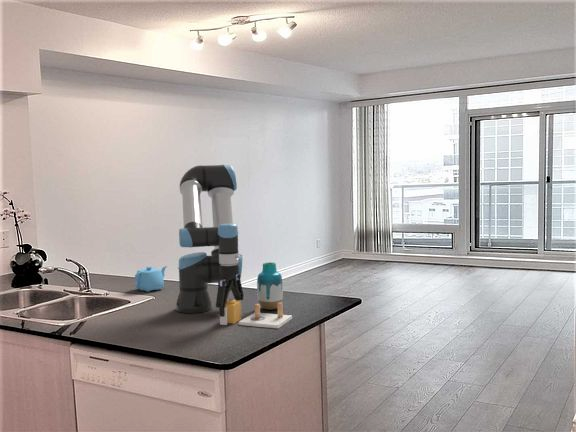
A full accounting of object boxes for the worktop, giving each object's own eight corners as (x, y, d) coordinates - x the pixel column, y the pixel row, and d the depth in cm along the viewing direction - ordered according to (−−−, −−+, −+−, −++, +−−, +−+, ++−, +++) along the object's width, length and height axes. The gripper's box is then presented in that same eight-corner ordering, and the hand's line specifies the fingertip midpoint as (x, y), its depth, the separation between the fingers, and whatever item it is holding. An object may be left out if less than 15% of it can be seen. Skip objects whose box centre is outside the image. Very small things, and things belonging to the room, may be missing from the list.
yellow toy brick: (220, 322, 214) (219, 301, 214) (227, 318, 220) (226, 298, 219) (234, 323, 212) (233, 302, 211) (241, 319, 218) (240, 299, 217)
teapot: (174, 288, 279) (174, 265, 278) (142, 294, 266) (141, 270, 265) (161, 284, 287) (160, 262, 286) (129, 290, 275) (128, 267, 274)
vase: (287, 307, 235) (286, 261, 233) (276, 313, 225) (275, 266, 224) (265, 305, 239) (263, 260, 238) (253, 311, 230) (251, 264, 228)
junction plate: (238, 324, 210) (238, 307, 210) (254, 315, 223) (254, 298, 222) (278, 328, 204) (277, 310, 204) (292, 318, 217) (291, 301, 217)
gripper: (222, 270, 202) (225, 329, 204) (251, 259, 223) (252, 313, 225) (204, 269, 204) (206, 327, 206) (234, 258, 226) (236, 312, 228)
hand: (230, 320), depth 216 cm, fingers open, 11 cm apart
